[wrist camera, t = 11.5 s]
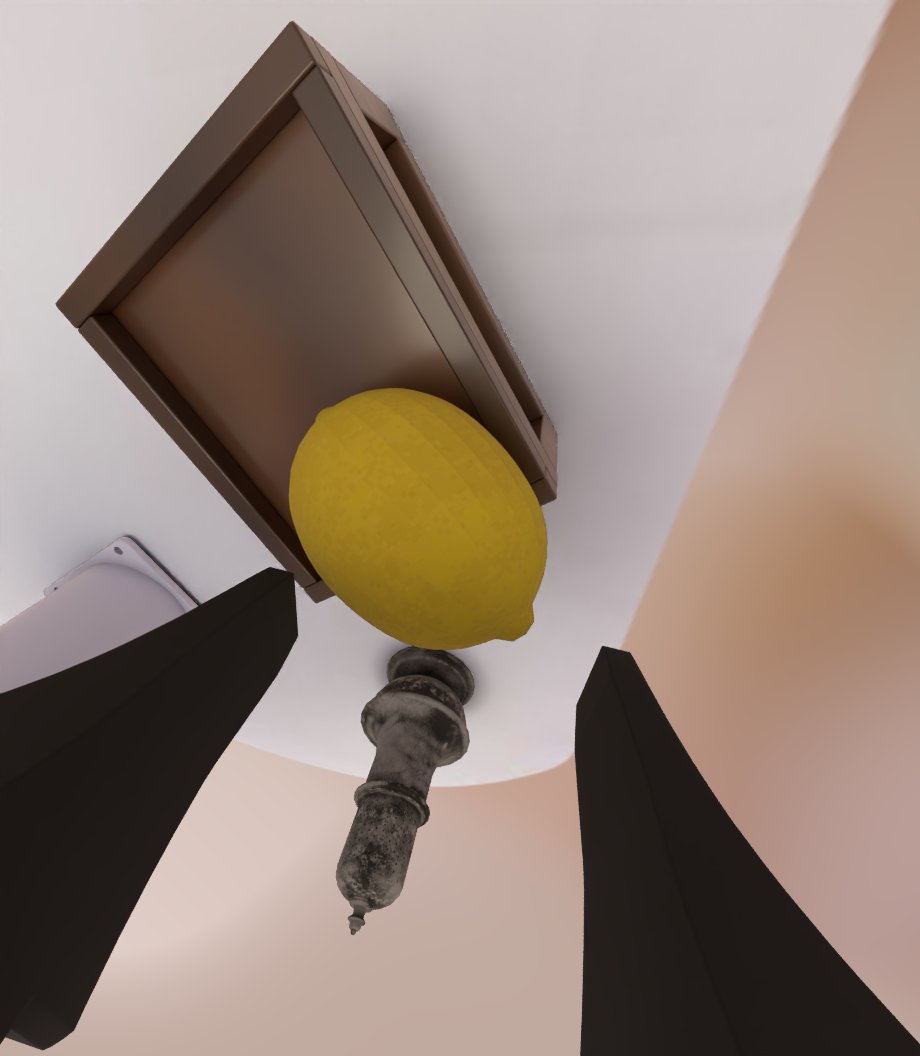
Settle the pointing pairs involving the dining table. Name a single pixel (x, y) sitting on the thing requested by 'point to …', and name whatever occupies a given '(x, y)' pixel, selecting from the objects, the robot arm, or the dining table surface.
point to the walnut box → (297, 291)
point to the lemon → (419, 520)
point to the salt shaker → (402, 772)
